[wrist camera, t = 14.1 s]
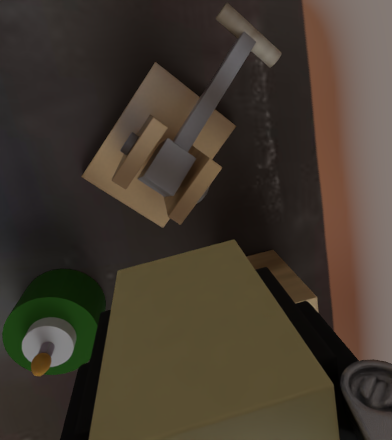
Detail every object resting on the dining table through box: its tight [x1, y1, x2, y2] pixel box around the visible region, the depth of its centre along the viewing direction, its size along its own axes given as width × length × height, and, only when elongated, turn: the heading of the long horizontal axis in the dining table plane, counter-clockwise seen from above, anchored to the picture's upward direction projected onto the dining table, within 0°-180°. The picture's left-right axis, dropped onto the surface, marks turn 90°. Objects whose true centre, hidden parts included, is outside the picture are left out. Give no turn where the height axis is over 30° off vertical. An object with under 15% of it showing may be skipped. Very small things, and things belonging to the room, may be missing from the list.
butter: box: [89, 240, 340, 440], centre depth 8 cm, size 5×4×6 cm
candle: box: [2, 269, 106, 376], centre depth 31 cm, size 8×8×10 cm
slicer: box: [82, 62, 236, 228], centre depth 26 cm, size 12×9×13 cm
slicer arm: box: [138, 3, 281, 197], centre depth 22 cm, size 13×5×2 cm, turn 144°
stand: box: [247, 250, 318, 312], centre depth 33 cm, size 8×7×10 cm
